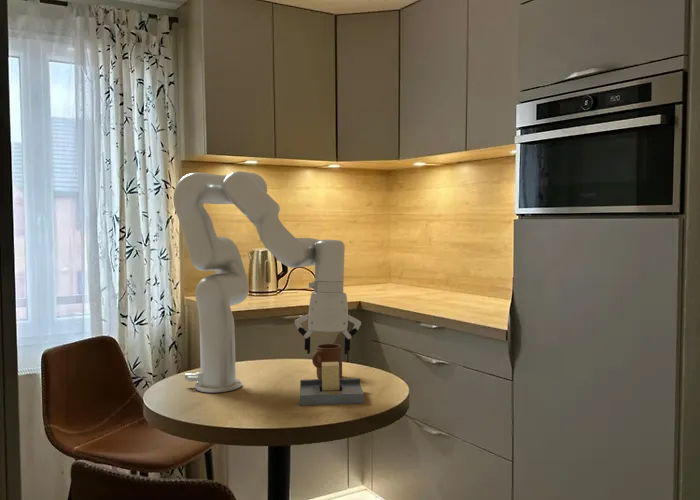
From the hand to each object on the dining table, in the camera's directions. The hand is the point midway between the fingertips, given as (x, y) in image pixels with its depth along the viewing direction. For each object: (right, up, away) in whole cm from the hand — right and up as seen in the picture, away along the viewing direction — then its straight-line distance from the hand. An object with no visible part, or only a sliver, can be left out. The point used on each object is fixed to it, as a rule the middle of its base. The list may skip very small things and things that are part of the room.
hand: (327, 353), depth 162 cm
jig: (+1, -12, 0) cm, 12 cm away
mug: (-1, -11, +20) cm, 23 cm away
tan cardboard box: (+1, -12, 0) cm, 12 cm away
